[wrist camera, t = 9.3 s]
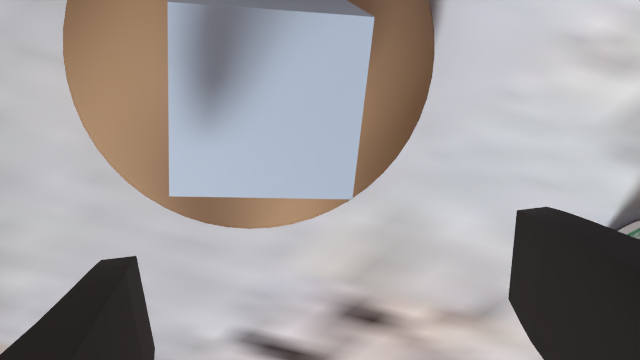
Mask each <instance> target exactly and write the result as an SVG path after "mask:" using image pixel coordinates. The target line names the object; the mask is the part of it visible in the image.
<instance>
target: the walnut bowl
mask: <svg viewBox="0 0 640 360" xmlns="http://www.w3.org/2000/svg"><path fill="white" fill-rule="evenodd" d="M347 1H349V2H351V3H352V4H354V5H356V6H357V7H359V8H361V9H362V10H364V11H366V12H367V13H369V14H370V15H372V16H374V17H375V18H374V26H373V34H372V43H371V51H370V59H369V67H368V75H367V83H366V92H365V100H364V108H363V116H362V124H361V133H360V141H359V149H358V157H357V165H356V173H355V182H354V190H353V197H355V196H356V195H358V194H359V193H360V192H362V191H363V190H364V189H366V188H367V187H368V186H369V185H371V184H372V183H373V182H374V181H375V180H376V179H377V178H378V177H379V176H380V175H381V174H383V173H384V171H385V170H386V169H387V168H388V167H389V166H390V164H391V163H392V162H393V161H394V160H395V159H396V157H397V156H398V155H399V153H400V152H401V150H402V149H403V147H404V146H405V144H406V143H407V141H408V140H409V138H410V136H411V134H412V132H413V130H414V128H415V126H416V124H417V122H418V121H419V118H420V116H421V113H422V110H423V107H424V105H425V102H426V99H427V96H428V91H429V87H430V83H431V78H432V71H433V62H434V28H433V21H432V14H431V8H430V4H429V0H347ZM63 56H64V63H65V70H66V77H67V82H68V85H69V89H70V92H71V96H72V99H73V103H74V105H75V108H76V110H77V112H78V115H79V117H80V119H81V122H82V124H83V126H84V128H85V129H86V131H87V133H88V134H89V136H90V138H91V139H92V141H93V143H94V145H95V146H96V148H97V149H98V150H99V151H100V153H101V154H102V155H103V156H104V158H105V159H106V160H107V162H108V163H109V164H110V165H111V166H112V167H113V168H114V169H115V170H116V171H117V172H118V173H119V174H120V175H121V176H122V177H123V178H124V179H125V180H126V181H127V182H128V183H129V184H131V185H132V186H133V187H134V188H136V189H137V190H138V191H140V192H141V193H142V194H143V195H145V196H146V197H148V198H150V199H151V200H153V201H155V202H156V203H158V204H160V205H161V206H163V207H165V208H167V209H169V210H171V211H174V212H176V213H178V214H180V215H183V216H185V217H188V218H191V219H195V220H198V221H201V222H204V223H208V224H214V225H219V226H224V227H233V228H248V229H251V228H271V227H277V226H283V225H289V224H294V223H297V222H301V221H304V220H308V219H311V218H314V217H316V216H319V215H321V214H324V213H326V212H328V211H331V210H333V209H335V208H336V207H338V206H340V205H342V204H344V203H345V202H347V201H349V200H351V199H299V198H238V197H177V196H169V120H168V0H67V5H66V12H65V19H64V27H63Z"/></svg>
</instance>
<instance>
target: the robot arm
mask: <svg viewBox="0 0 640 360" xmlns="http://www.w3.org/2000/svg"><path fill="white" fill-rule="evenodd" d="M509 301H510V303H511V305H512V307H513V309H514V311H515V313H516V315H517V317H518V319H519V321H520V323H521V324H522V326H523V328H524V330H525V332H526V333H527V335H528V337H529V339H530V341H531V342H532V344H533V345H534V346H535V348H536V349H537V351H538V352H539V354H540V355H541V356H542V358H543V359H544V360H640V239H637V238H634V237H632V236H629V235H626V234H624V233H621V232H619V231H616V230H613V229H611V228H608V227H605V226H603V225H600V224H598V223H595V222H592V221H590V220H587V219H584V218H581V217H579V216H576V215H573V214H570V213H567V212H564V211H561V210H557V209H553V208H549V207H542V208H533V209H525V210H517V216H516V226H515V237H514V247H513V257H512V268H511V278H510V288H509ZM154 351H155V347H154V342H153V337H152V332H151V327H150V322H149V317H148V312H147V307H146V302H145V297H144V292H143V287H142V283H141V278H140V273H139V268H138V263H137V258H136V256H132V257H124V258H115V259H107V260H101V261H100V262H99V263H97V264H96V265H95V266H94V267H93V268H92V269H91V270H90V271H89V272H88V273H87V274H86V275H85V276H84V277H83V278H82V279H81V280H80V281H79V282H78V283H77V284H76V285H75V286H74V287H73V288H72V289H71V290H70V291H69V292H68V293H67V294H66V295H65V296H64V297H63V298H62V299H61V300H60V301H59V302H58V303H56V304H55V305H54V306H53V307H52V308H51V309H50V310H49V311H48V312H47V313H46V314H45V315H44V316H43V317H42V318H41V319H40V320H39V321H38V322H37V323H36V324H35V325H34V326H32V327H31V328H30V329H29V330H28V331H27V332H26V333H24V334H23V335H22V336H21V337H20V338H19V339H18V340H16V341H15V342H14V343H13V344H12V345H11V346H10V347H8V348H7V349H6V350H5V351H4V352H3V353H2V354H1V355H0V360H154Z"/></svg>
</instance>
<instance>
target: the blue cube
mask: <svg viewBox="0 0 640 360" xmlns="http://www.w3.org/2000/svg"><path fill="white" fill-rule="evenodd" d="M374 18H375V17H374V16H372V15H370V14H369V13H367V12H366V11H364V10H362V9H361V8H359V7H357V6H356V5H354V4H352V3H351V2H349V1H347V0H168V120H169V196H177V197H238V198H299V199H352V198H353V190H354V182H355V173H356V165H357V157H358V149H359V141H360V133H361V124H362V116H363V108H364V100H365V92H366V83H367V75H368V67H369V59H370V51H371V43H372V34H373V26H374Z"/></svg>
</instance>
